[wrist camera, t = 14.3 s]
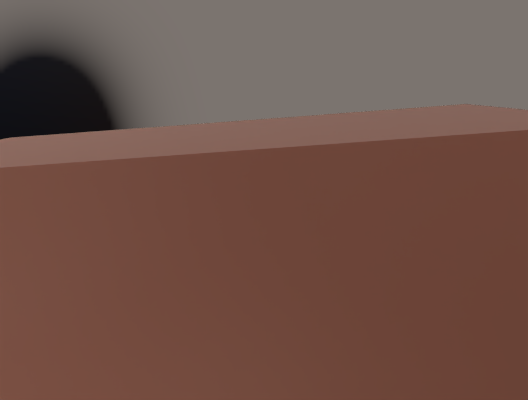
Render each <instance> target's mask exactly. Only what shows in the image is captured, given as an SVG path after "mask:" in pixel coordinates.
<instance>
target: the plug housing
mask: <svg viewBox="0 0 528 400" xmlns="http://www.w3.org/2000/svg"><path fill="white" fill-rule="evenodd" d="M0 400H528V110H522V109H512V108H502V107H492V106H481V105H471V104H460V105H447V106H433V107H420V108H407V109H393V110H379V111H366V112H353V113H339V114H325V115H312V116H299V117H285V118H273V119H272V118H271V119H259V120H244V121H231V122H218V123H205V124H191V125H177V126H164V127H150V128H137V129H123V130H110V131H96V132H83V133H69V134H56V135H42V136H29V137H16V138H7V139H2V140H0Z"/></svg>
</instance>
